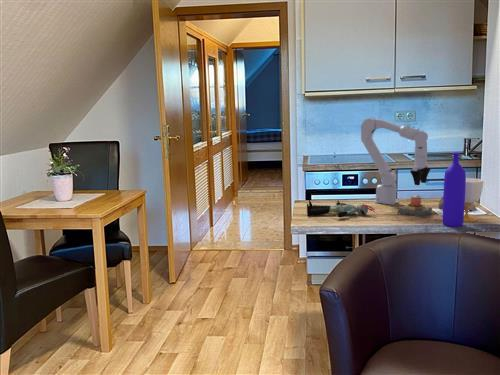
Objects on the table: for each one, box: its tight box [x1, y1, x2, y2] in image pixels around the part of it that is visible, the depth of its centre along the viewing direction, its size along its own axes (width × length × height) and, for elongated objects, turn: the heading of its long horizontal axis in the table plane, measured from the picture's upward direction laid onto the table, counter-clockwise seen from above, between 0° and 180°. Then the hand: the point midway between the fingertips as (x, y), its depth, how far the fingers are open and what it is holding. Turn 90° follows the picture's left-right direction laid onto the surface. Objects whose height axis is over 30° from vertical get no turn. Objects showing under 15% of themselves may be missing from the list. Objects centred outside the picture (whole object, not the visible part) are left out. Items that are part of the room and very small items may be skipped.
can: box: [409, 194, 422, 207], centre depth 233 cm, size 4×4×6 cm
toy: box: [306, 199, 375, 218], centre depth 235 cm, size 26×8×30 cm
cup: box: [463, 177, 484, 222], centre depth 220 cm, size 12×12×17 cm
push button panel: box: [398, 203, 433, 218], centre depth 233 cm, size 12×9×4 cm
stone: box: [437, 196, 477, 212], centre depth 241 cm, size 17×10×10 cm
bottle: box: [442, 151, 467, 228], centre depth 209 cm, size 8×8×30 cm
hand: (420, 183), depth 250 cm, fingers open, 7 cm apart
